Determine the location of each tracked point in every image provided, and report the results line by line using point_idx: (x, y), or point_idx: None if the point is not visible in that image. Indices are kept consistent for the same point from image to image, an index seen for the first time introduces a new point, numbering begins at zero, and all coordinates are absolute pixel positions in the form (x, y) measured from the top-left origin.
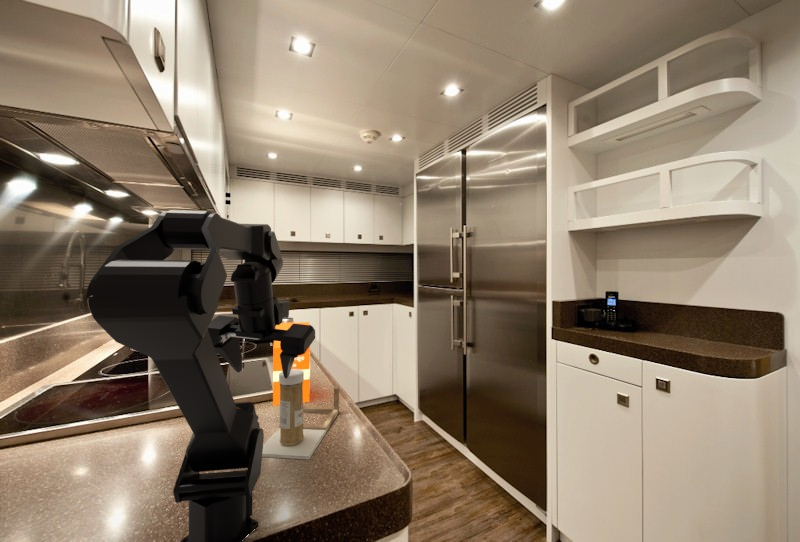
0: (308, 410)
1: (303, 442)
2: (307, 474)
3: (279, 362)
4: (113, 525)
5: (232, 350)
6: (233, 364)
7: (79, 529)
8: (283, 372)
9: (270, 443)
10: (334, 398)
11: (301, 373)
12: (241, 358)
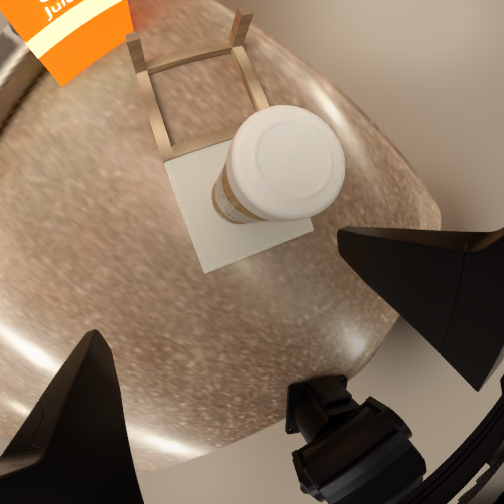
0: (167, 65)
1: None
2: (336, 267)
3: (31, 15)
4: (181, 451)
5: (113, 489)
6: (122, 422)
7: (156, 464)
8: (375, 288)
9: (201, 228)
10: (239, 31)
11: (343, 153)
12: (85, 369)
